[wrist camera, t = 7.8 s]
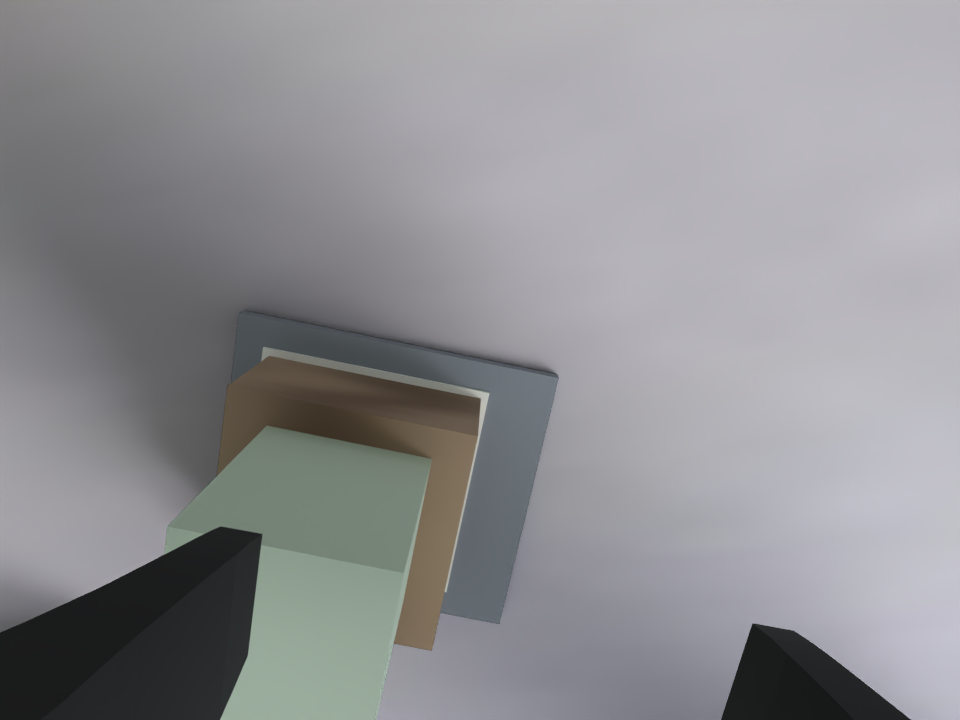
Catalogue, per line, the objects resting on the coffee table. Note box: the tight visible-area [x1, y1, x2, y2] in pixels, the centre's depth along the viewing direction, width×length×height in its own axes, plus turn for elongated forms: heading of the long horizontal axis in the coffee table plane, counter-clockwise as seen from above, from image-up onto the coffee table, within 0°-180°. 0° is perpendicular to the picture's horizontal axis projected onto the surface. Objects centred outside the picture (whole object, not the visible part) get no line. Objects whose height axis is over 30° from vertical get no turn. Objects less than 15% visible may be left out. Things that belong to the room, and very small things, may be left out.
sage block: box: [164, 426, 432, 720], centre depth 14 cm, size 4×4×5 cm
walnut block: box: [217, 356, 481, 651], centre depth 18 cm, size 6×6×3 cm
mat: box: [231, 311, 559, 624], centre depth 20 cm, size 9×8×1 cm
